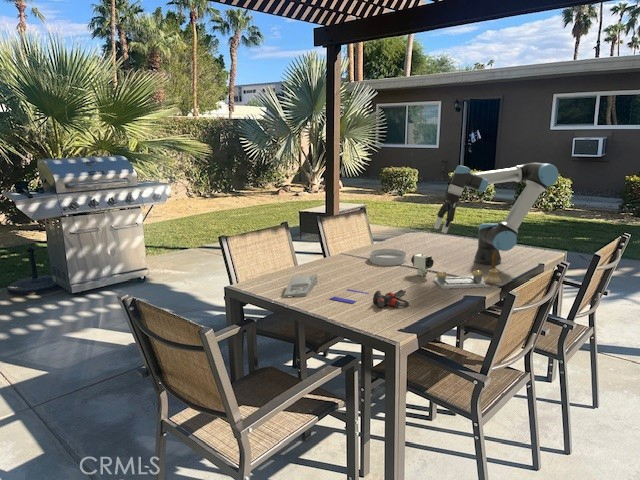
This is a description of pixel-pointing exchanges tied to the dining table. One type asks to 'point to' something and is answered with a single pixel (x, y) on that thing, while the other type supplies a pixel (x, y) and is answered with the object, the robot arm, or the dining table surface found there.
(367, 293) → the flat strips
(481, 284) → the plate
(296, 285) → the ramp
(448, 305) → the dining table surface
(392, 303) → the grey red jointed piece
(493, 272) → the hand bell
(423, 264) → the pneumatic valve
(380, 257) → the dish
